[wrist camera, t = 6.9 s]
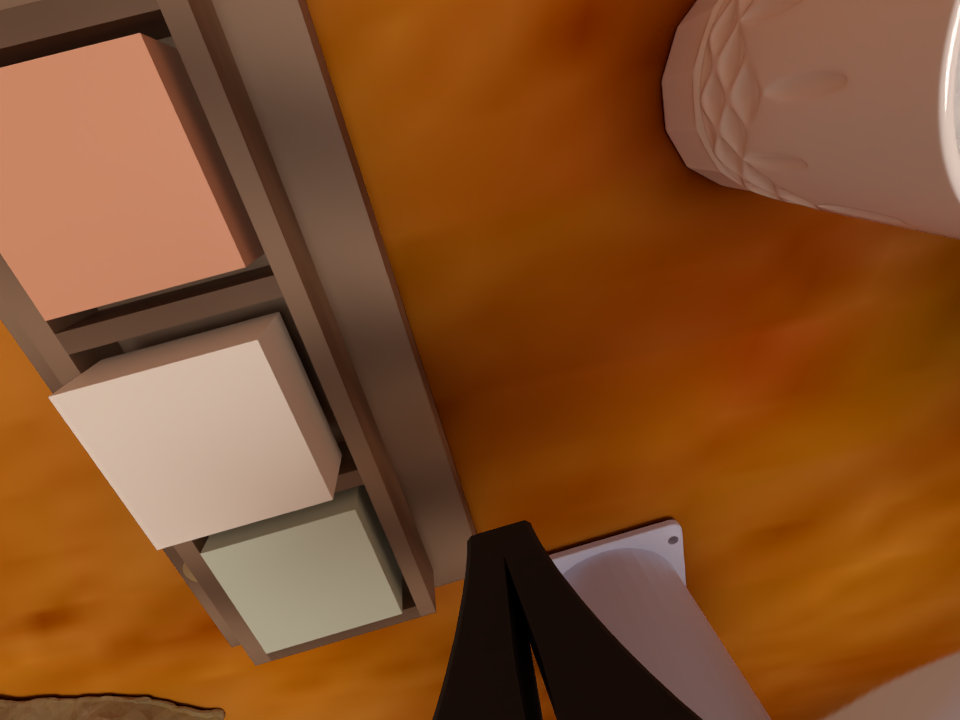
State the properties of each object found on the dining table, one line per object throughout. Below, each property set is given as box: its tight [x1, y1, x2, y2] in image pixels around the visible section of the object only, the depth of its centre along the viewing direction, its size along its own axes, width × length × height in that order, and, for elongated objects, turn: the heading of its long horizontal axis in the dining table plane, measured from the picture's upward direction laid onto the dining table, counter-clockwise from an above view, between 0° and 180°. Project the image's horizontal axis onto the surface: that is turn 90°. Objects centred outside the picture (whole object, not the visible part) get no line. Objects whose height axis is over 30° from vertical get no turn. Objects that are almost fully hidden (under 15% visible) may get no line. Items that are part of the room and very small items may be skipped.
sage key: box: [200, 485, 402, 654], centre depth 17 cm, size 5×5×2 cm
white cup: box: [662, 0, 960, 240], centre depth 12 cm, size 8×8×10 cm
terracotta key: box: [0, 33, 265, 321], centre depth 12 cm, size 5×5×2 cm
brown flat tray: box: [0, 0, 476, 665], centre depth 16 cm, size 22×11×4 cm, turn 14°
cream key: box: [48, 312, 342, 550], centre depth 13 cm, size 5×5×2 cm
